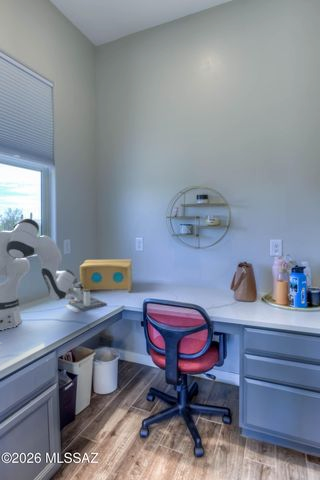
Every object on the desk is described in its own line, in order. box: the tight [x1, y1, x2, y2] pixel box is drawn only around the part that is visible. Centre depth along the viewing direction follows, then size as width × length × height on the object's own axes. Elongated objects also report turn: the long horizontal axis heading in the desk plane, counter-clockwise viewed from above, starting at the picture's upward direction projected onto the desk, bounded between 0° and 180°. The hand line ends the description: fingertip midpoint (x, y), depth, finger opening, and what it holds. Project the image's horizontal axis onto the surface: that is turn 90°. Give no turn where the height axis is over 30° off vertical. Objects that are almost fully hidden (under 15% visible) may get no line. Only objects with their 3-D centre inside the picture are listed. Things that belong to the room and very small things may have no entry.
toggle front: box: [82, 289, 91, 307], centre depth 186 cm, size 3×4×11 cm
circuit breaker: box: [64, 276, 83, 300], centre depth 211 cm, size 8×14×15 cm, turn 78°
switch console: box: [63, 296, 108, 313], centre depth 193 cm, size 22×22×3 cm
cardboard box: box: [79, 258, 133, 294], centre depth 234 cm, size 40×26×24 cm, turn 92°
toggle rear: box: [73, 285, 82, 302], centre depth 196 cm, size 3×4×11 cm
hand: (81, 299), depth 183 cm, fingers closed
